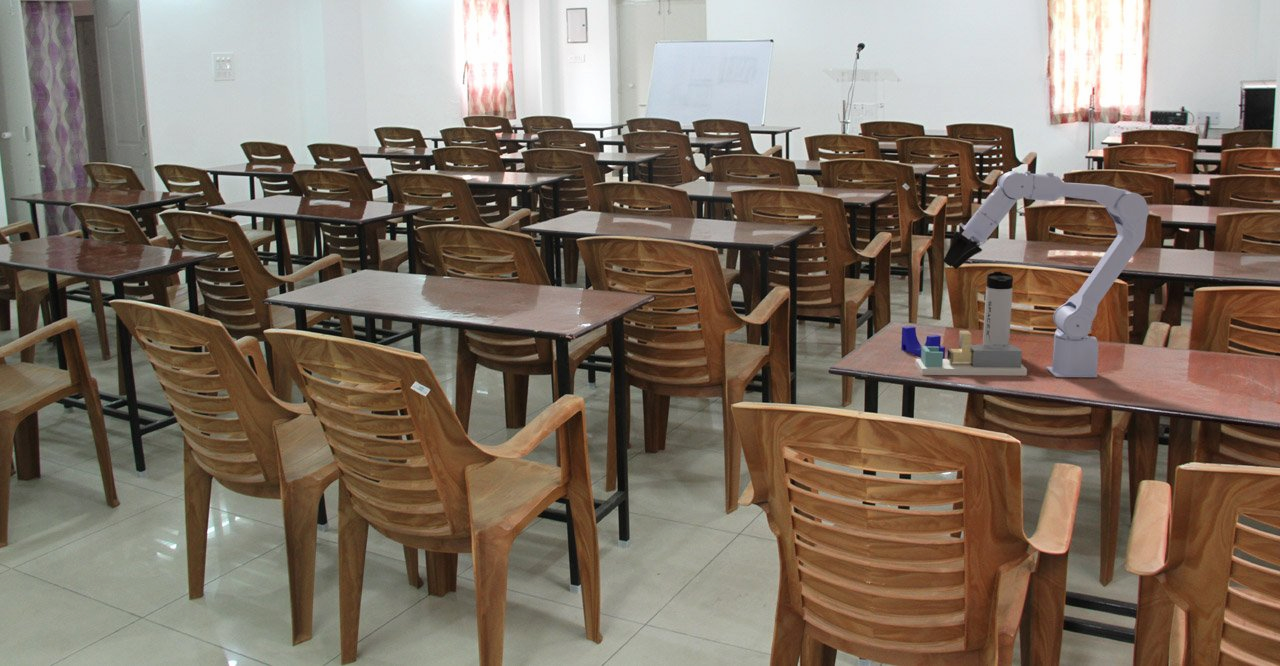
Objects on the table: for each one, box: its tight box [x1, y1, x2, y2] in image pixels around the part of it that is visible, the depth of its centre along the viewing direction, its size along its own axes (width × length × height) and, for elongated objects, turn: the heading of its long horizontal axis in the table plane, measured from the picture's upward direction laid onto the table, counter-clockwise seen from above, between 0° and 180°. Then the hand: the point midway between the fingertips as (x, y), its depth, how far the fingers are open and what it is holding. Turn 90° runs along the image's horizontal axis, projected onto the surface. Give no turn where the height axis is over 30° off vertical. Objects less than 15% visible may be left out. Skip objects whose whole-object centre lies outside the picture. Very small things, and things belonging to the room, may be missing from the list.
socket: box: [920, 345, 943, 367], centre depth 264 cm, size 4×6×4 cm
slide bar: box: [946, 330, 973, 363], centre depth 263 cm, size 15×4×7 cm, turn 86°
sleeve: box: [970, 344, 1023, 368], centre depth 263 cm, size 11×6×4 cm, turn 86°
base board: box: [914, 358, 1028, 377], centre depth 264 cm, size 24×9×2 cm, turn 86°
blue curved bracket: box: [900, 325, 946, 359], centre depth 279 cm, size 12×4×6 cm, turn 21°
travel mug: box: [982, 271, 1014, 345], centre depth 278 cm, size 6×7×20 cm
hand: (949, 265), depth 257 cm, fingers open, 7 cm apart
